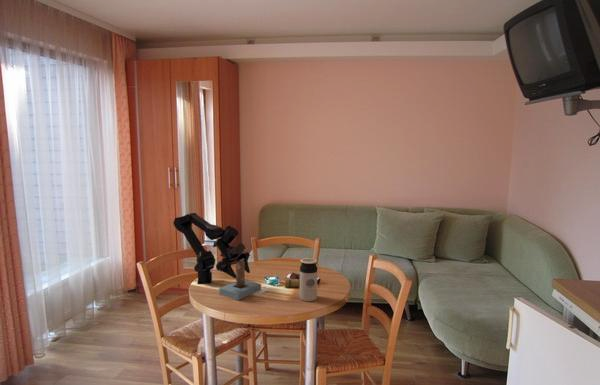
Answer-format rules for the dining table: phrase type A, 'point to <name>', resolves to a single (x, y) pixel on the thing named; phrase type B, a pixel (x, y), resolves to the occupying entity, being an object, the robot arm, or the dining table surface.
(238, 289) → the socket board
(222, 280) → the dining table surface
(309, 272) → the travel mug
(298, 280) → the gavel
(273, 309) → the dining table surface
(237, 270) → the peg
